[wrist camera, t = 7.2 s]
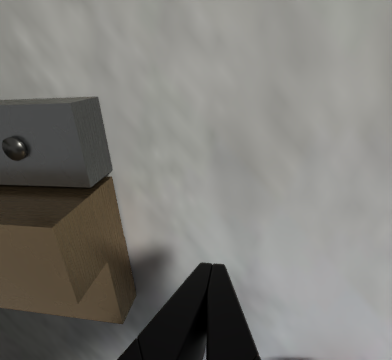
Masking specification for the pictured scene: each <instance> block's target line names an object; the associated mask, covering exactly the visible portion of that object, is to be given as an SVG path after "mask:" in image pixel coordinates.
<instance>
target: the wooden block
mask: <svg viewBox="0 0 392 360" xmlns="http://www.w3.org/2000/svg"><path fill="white" fill-rule="evenodd" d="M135 297H136V291H135V286H134V281H133V276H132V271H131V266H130V261H129V256H128V251H127V246H126V241H125V237H124V234H123V229H122V224H121V219H120V214H119V209H118V204H117V199H116V194H115V189H114V184H113V179H112V177H103V178H102V179H101V180H100V181H98V182H97V183H96V184H95V185H93V186H92V187H91V188H89V187H59V186H29V185H0V308H6V309H14V310H21V311H29V312H36V313H43V314H51V315H58V316H66V317H73V318H81V319H88V320H95V321H103V322H110V323H118V324H123V323H124V321H125V319H126V316H127V314H128V312H129V310H130V308H131V306H132V304H133V301H134V299H135Z"/></svg>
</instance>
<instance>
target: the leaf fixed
mask: <svg viewBox="0 0 392 360" xmlns="http://www.w3.org/2000/svg"><path fill="white" fill-rule="evenodd" d="M111 171H112V165H111V160H110V155H109V150H108V145H107V140H106V135H105V130H104V125H103V120H102V115H101V110H100V105H99V100H98V97H76V98H49V99H21V100H0V185H29V186H59V187H89V188H91V187H92V186H93V185H95V184H96V183H97V182H98V181H100V180H101V179H102V178H103V177H104V176H106V175H107V174H108V173H109V172H111Z"/></svg>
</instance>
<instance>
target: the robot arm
mask: <svg viewBox="0 0 392 360" xmlns="http://www.w3.org/2000/svg"><path fill="white" fill-rule="evenodd" d="M137 338H138V339H137ZM137 338H136V339H135V340H134V341H133V342H132V343H131V345H130V346H129V347H128V348H127V349H126V350H125V351H124V353H123V354H122V355H121V356H120V357H119V358H118V359H117V360H203V357H204V352H205V347H206V360H261V358H260V356H259V353H258V351H257V348H256V345H255V343H254V340H253V338H252V335H251V332H250V330H249V327H248V324H247V322H246V319H245V316H244V314H243V311H242V309H241V306H240V303H239V301H238V298H237V295H236V293H235V290H234V288H233V285H232V282H231V280H230V277H229V274H228V272H227V269H226V267H225V265H224V264H213V265H212V264H211V263H200V264H199V265H198V266H197V267H196V269H195V270H194V271H193V272H192V273H191V274H190V276H189V277H188V278H187V279H186V280H185V281H184V283H183V284H182V285H181V286H180V287H179V289H178V290H177V291H176V292H175V293H174V294H173V296H172V297H171V298H170V299H169V300H168V301H167V303H166V304H165V305H164V306H163V307H162V308H161V310H160V311H159V312H158V313H157V314H156V315H155V317H154V318H153V319H152V320H151V321H150V322H149V324H148V325H147V326H146V327H145V328H144V329H143V331H142V332H141V333H140V334H139V335H138V337H137ZM206 342H207V345H206Z"/></svg>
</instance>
